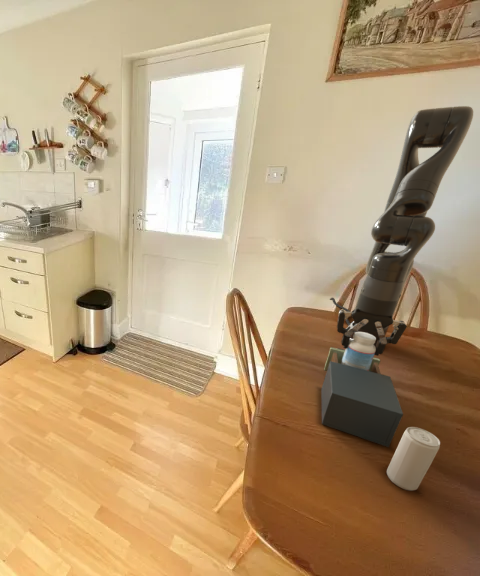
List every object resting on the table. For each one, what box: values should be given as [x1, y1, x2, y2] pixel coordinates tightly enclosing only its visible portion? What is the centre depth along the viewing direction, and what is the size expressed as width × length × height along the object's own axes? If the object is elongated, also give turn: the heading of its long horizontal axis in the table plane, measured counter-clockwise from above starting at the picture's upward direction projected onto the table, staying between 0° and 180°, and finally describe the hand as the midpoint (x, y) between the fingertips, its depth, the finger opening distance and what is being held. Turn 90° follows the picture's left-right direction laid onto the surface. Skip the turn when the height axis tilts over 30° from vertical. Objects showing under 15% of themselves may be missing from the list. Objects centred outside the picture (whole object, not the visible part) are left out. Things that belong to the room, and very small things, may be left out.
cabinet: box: [320, 361, 404, 448], centre depth 78 cm, size 16×13×10 cm
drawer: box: [323, 347, 382, 374], centre depth 89 cm, size 20×11×8 cm, turn 146°
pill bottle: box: [341, 332, 376, 371], centre depth 86 cm, size 6×6×11 cm
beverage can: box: [386, 426, 441, 491], centre depth 61 cm, size 5×5×12 cm
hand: (359, 350), depth 86 cm, fingers closed on pill bottle, 6 cm apart
